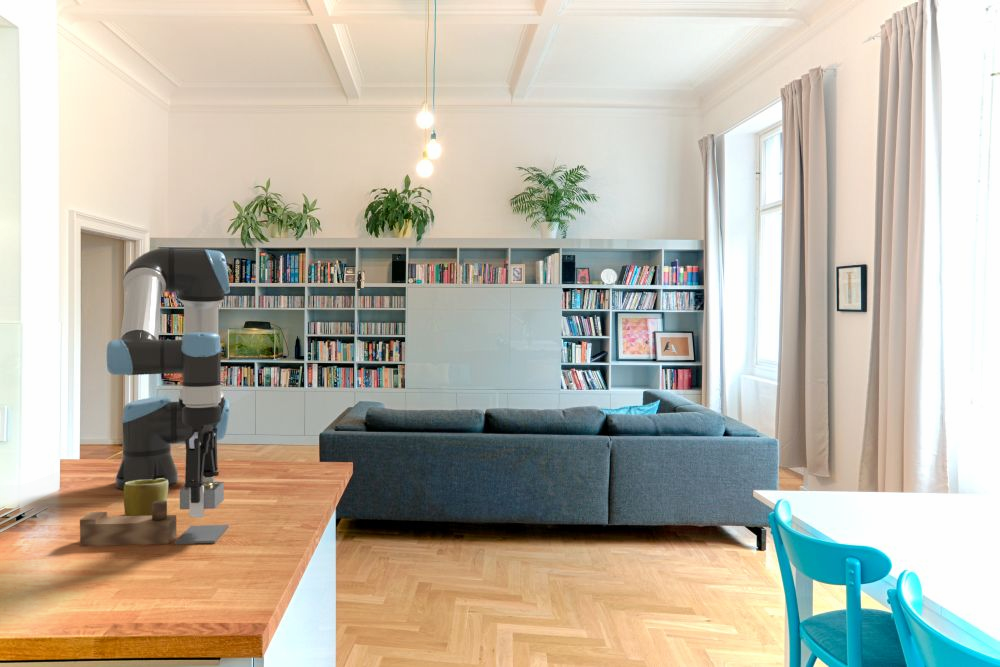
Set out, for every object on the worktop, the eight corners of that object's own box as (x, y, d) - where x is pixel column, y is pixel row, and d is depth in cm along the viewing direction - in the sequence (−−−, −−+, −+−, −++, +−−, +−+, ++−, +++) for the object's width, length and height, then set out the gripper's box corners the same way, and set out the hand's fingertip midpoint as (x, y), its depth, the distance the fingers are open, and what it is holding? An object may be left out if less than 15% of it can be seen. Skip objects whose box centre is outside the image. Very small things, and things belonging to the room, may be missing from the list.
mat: (190, 528, 148) (190, 525, 148) (228, 527, 149) (228, 524, 149) (174, 544, 138) (174, 541, 138) (214, 543, 139) (214, 540, 139)
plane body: (80, 546, 137) (79, 507, 136) (92, 537, 142) (91, 500, 141) (167, 543, 139) (167, 505, 138) (176, 535, 144) (176, 498, 143)
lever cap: (179, 509, 140) (179, 487, 140) (190, 500, 146) (190, 479, 146) (214, 508, 141) (214, 486, 140) (223, 499, 147) (223, 478, 147)
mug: (151, 516, 150) (146, 472, 152) (114, 527, 152) (109, 483, 154) (190, 511, 162) (184, 470, 164) (154, 521, 164) (149, 480, 166)
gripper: (198, 398, 152) (198, 499, 153) (166, 412, 132) (167, 527, 133) (232, 398, 153) (233, 498, 154) (205, 411, 133) (206, 526, 134)
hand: (202, 511), depth 143 cm, fingers closed on lever cap, 6 cm apart
